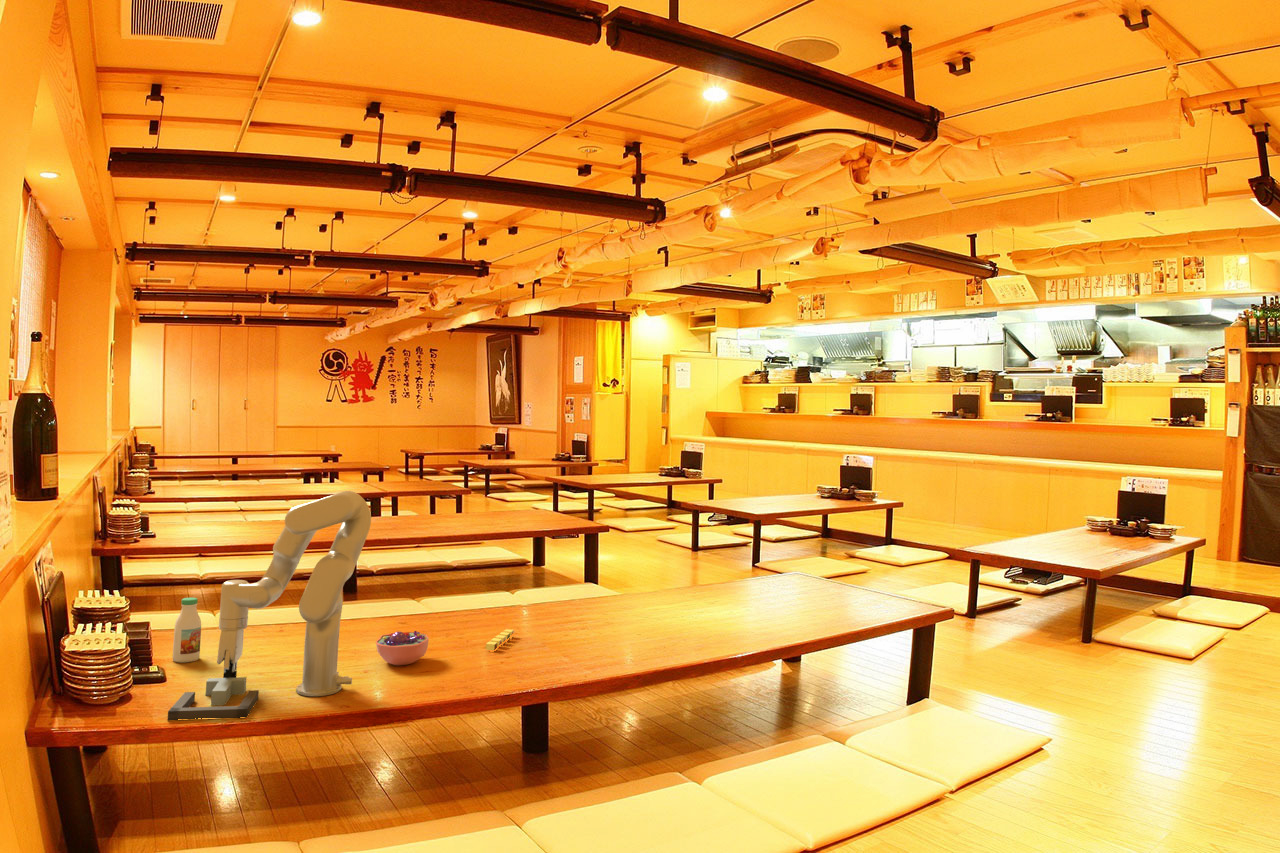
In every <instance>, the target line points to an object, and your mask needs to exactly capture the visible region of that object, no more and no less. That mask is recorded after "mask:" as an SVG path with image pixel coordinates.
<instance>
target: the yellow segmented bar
mask: <svg viewBox="0 0 1280 853" xmlns="http://www.w3.org/2000/svg"><path fill="white" fill-rule="evenodd" d="M513 633H514V634H515V630H514V629H507V628H505V629H504V630H503V631H501V632H500V633H499V634H497V635H495V637H493V638H491V639H490V641H487V642H486V643H485V650H486V649H487V650H495V649H496V648H497V646H499V645H500V644H502V642H504V641H505V640H506V639H508V638H509V637H510V635H512V634H513Z"/></svg>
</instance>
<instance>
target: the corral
mask: <svg viewBox="0 0 1280 853" xmlns="http://www.w3.org/2000/svg"><path fill="white" fill-rule="evenodd" d="M259 692H260V691H259V689H257V690H255V689H254V690H251V689H250V690H248V692H247V693H246V695H245V696H244V698H243V699H242V700H241V702H240V704H239V705H234V706H233V705H232V706H230V705H229V706H226V705H221V706H199V707H198V706H195V707H193V706H192V705H193V703H194V702H195V700H196V699H195V698H196V692H195V691H186V692H184V693H183V694H182V695H181V697H179V699H178V700H176V702H174V704H173V705H172V707H170V708H169V709H168V711H167V720H178V719H195V718H196V719H198V718H201V719H202V718H238V719H241V718H240V717H247V716H249V715H250V714H251V712H252V710H253V709H254V707H255V705H256V704H257V701H258V700H259V694H260V693H259ZM255 703H256V704H255ZM191 704H192V705H191ZM191 706H192V707H191ZM253 706H254V707H253ZM250 711H251V712H250ZM248 714H249V715H248ZM247 718H248V717H247Z"/></svg>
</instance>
